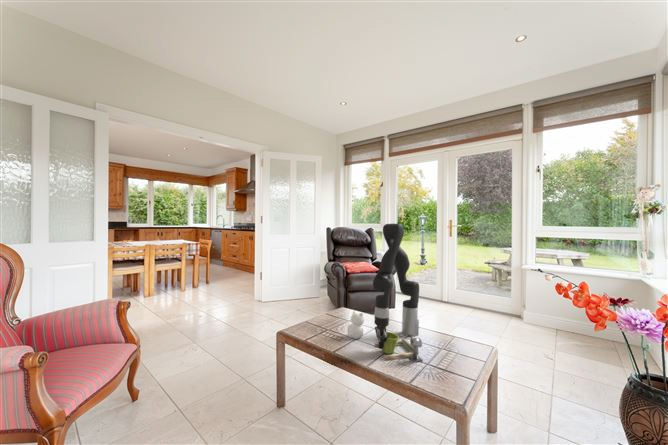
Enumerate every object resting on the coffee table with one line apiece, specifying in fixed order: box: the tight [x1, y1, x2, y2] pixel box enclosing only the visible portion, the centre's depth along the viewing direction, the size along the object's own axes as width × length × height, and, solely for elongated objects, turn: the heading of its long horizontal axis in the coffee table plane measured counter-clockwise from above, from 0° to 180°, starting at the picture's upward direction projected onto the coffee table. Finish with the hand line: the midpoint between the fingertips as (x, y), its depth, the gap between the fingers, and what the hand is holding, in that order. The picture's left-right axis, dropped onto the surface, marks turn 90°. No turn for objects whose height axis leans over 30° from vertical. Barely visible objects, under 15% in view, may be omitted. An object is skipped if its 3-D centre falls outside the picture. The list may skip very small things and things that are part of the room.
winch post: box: [407, 335, 424, 363], centre depth 135 cm, size 7×5×13 cm
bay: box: [374, 338, 419, 361], centre depth 143 cm, size 18×15×3 cm
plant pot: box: [381, 331, 400, 355], centre depth 142 cm, size 9×9×9 cm
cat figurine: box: [347, 310, 365, 340], centre depth 160 cm, size 9×12×15 cm
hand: (380, 348), depth 141 cm, fingers closed
